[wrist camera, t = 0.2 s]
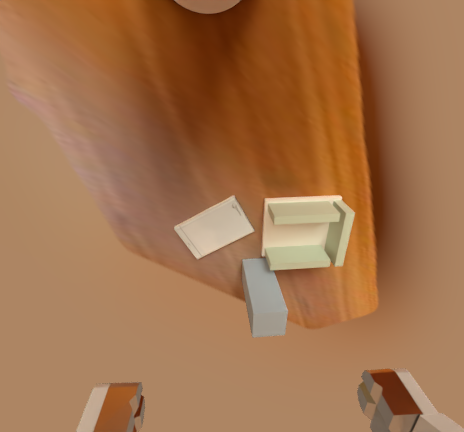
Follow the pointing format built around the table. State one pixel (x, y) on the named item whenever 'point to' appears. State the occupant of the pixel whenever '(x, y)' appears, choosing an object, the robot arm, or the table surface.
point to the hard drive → (214, 227)
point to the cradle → (305, 231)
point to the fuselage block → (263, 299)
